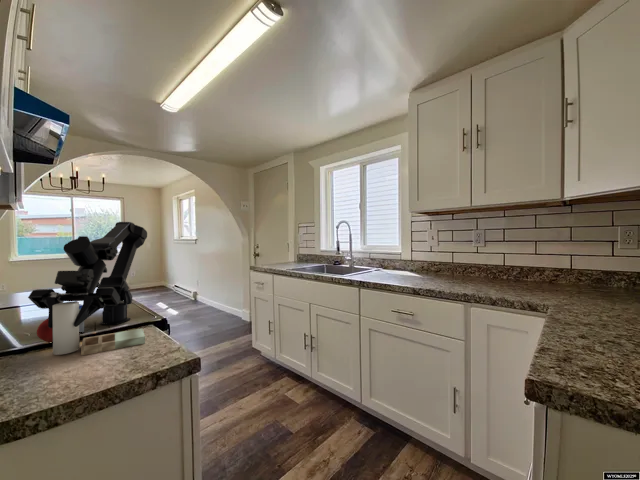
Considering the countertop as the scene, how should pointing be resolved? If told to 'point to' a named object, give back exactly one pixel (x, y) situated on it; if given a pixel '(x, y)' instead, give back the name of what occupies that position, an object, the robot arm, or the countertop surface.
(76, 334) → the white cylinder
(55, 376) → the countertop surface
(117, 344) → the board
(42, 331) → the onion
